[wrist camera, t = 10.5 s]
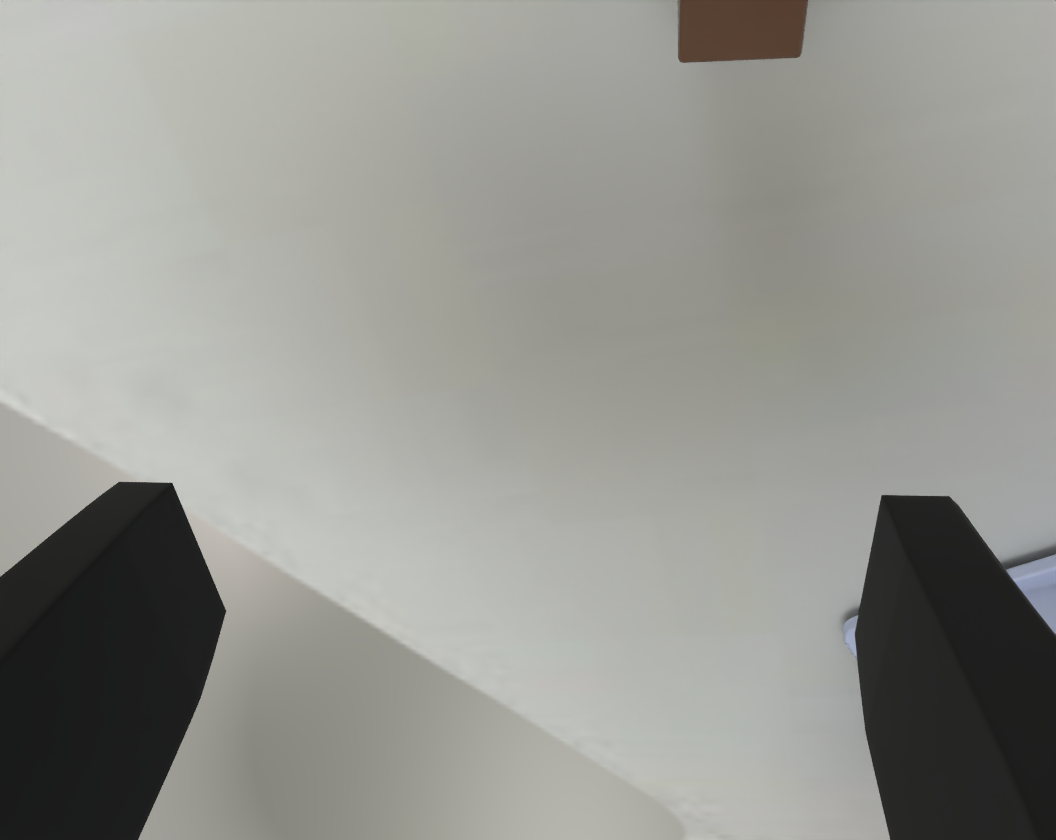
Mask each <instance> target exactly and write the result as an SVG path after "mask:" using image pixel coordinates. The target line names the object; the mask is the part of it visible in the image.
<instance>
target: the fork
mask: <svg viewBox="0 0 1056 840" xmlns="http://www.w3.org/2000/svg"><path fill="white" fill-rule="evenodd" d="M807 6H808V0H678V58H679V61H680V62H683V63H686V62H709V61H732V60H755V59H778V58H797V57H800V55H801V53H802V47H803V39H804V31H805V22H806V14H807Z"/></svg>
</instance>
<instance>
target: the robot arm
mask: <svg viewBox="0 0 1056 840" xmlns="http://www.w3.org/2000/svg"><path fill="white" fill-rule="evenodd" d="M225 613H226V610H225V607H224V605H223V603H222V600H221V598H220V596H219V593H218V591H217V588H216V586H215V584H214V581H213V579H212V577H211V574H210V572H209V569H208V567H207V565H206V562H205V560H204V558H203V555H202V553H201V550H200V548H199V546H198V543H197V541H196V538H195V536H194V534H193V531H192V529H191V526H190V524H189V522H188V519H187V517H186V515H185V512H184V510H183V507H182V505H181V503H180V500H179V498H178V496H177V493H176V491H175V488H174V486H173V484H172V483H148V482H118V483H117V484H116V485H114V486H113V487H112V488H110V489H109V490H107V491H106V492H105V493H103V494H102V495H101V496H99V497H98V498H97V499H96V500H94V501H93V502H92V503H90V504H89V505H88V506H87V507H85V508H84V509H83V510H82V511H80V512H79V513H78V514H77V515H75V516H74V517H73V518H72V519H70V520H69V521H68V522H67V523H65V524H64V525H63V526H62V527H61V528H59V529H58V530H57V531H56V532H54V533H53V534H52V535H51V536H50V537H48V538H47V539H46V540H45V541H44V542H42V543H41V544H40V545H39V546H37V547H36V548H35V549H34V550H32V551H31V552H30V553H29V554H28V555H27V556H25V557H24V558H23V559H22V560H20V561H19V562H18V563H17V564H16V565H14V566H13V567H12V568H11V569H9V570H8V571H7V572H6V573H5V574H3V575H2V576H1V577H0V840H138V838H139V836H140V834H141V832H142V830H143V827H144V825H145V823H146V821H147V818H148V816H149V814H150V812H151V810H152V807H153V805H154V803H155V801H156V798H157V796H158V794H159V792H160V790H161V787H162V785H163V783H164V781H165V778H166V776H167V774H168V772H169V770H170V767H171V765H172V763H173V760H174V758H175V756H176V754H177V751H178V749H179V747H180V744H181V742H182V740H183V738H184V735H185V733H186V731H187V729H188V726H189V724H190V722H191V719H192V717H193V715H194V712H195V710H196V708H197V705H198V703H199V700H200V698H201V695H202V691H203V688H204V685H205V682H206V679H207V676H208V672H209V669H210V666H211V663H212V660H213V656H214V652H215V649H216V645H217V642H218V638H219V635H220V631H221V627H222V624H223V620H224V616H225ZM842 631H843V637H844V641H845V644H846V645H847V647H848V648H849V649H850V651H851V652H852V653H853V655H854V656H855V658H856V659H857V662H858V671H859V680H860V690H861V698H862V706H863V714H864V722H865V730H866V736H867V740H868V745H869V749H870V754H871V758H872V762H873V767H874V771H875V775H876V780H877V784H878V788H879V793H880V797H881V801H882V806H883V810H884V814H885V819H886V823H887V827H888V831H889V835H890V840H1056V554H1055V555H1052V556H1048V557H1045V558H1042V559H1039V560H1035V561H1032V562H1029V563H1026V564H1022V565H1019V566H1016V567H1013V568H1009V569H1006V570H1005V569H1004V567H1003V566H1002V565H1001V563H1000V562H999V561H998V559H997V558H996V556H995V555H994V554H993V552H992V551H991V550H990V548H989V547H988V546H987V544H986V543H985V542H984V540H983V539H982V537H981V536H980V535H979V533H978V532H977V530H976V529H975V528H974V526H973V525H972V524H971V522H970V521H969V519H968V518H967V517H966V515H965V514H964V512H963V511H962V510H961V508H960V507H959V506H958V505H957V504H956V503H955V502H954V501H953V500H952V499H951V498H950V497H949V496H897V495H882V496H881V501H880V506H879V512H878V517H877V522H876V527H875V532H874V537H873V542H872V547H871V553H870V558H869V563H868V568H867V573H866V578H865V583H864V588H863V594H862V599H861V604H860V609H859V614H858V615H857V616H854V617H852V618H850V619H848V620H847V621H846V622H845V623H844V625H843V628H842Z"/></svg>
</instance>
